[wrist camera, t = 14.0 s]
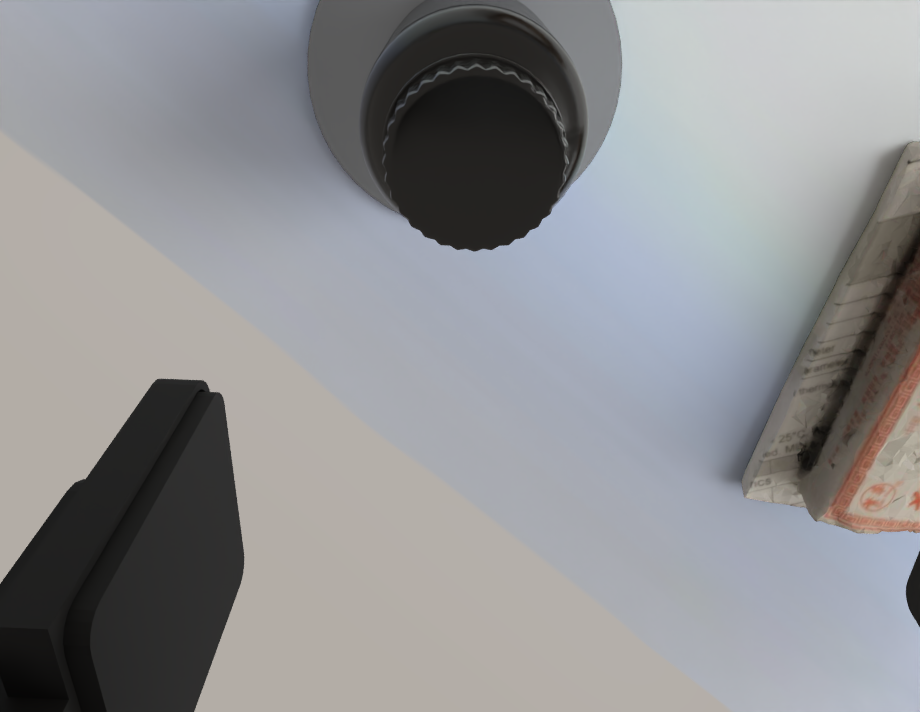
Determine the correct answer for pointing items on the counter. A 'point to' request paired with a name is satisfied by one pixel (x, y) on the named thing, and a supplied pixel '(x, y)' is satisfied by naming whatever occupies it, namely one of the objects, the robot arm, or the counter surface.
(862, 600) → the counter surface
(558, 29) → the mat
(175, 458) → the robot arm
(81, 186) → the counter surface
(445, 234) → the supplement bottle
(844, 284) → the packaged product
